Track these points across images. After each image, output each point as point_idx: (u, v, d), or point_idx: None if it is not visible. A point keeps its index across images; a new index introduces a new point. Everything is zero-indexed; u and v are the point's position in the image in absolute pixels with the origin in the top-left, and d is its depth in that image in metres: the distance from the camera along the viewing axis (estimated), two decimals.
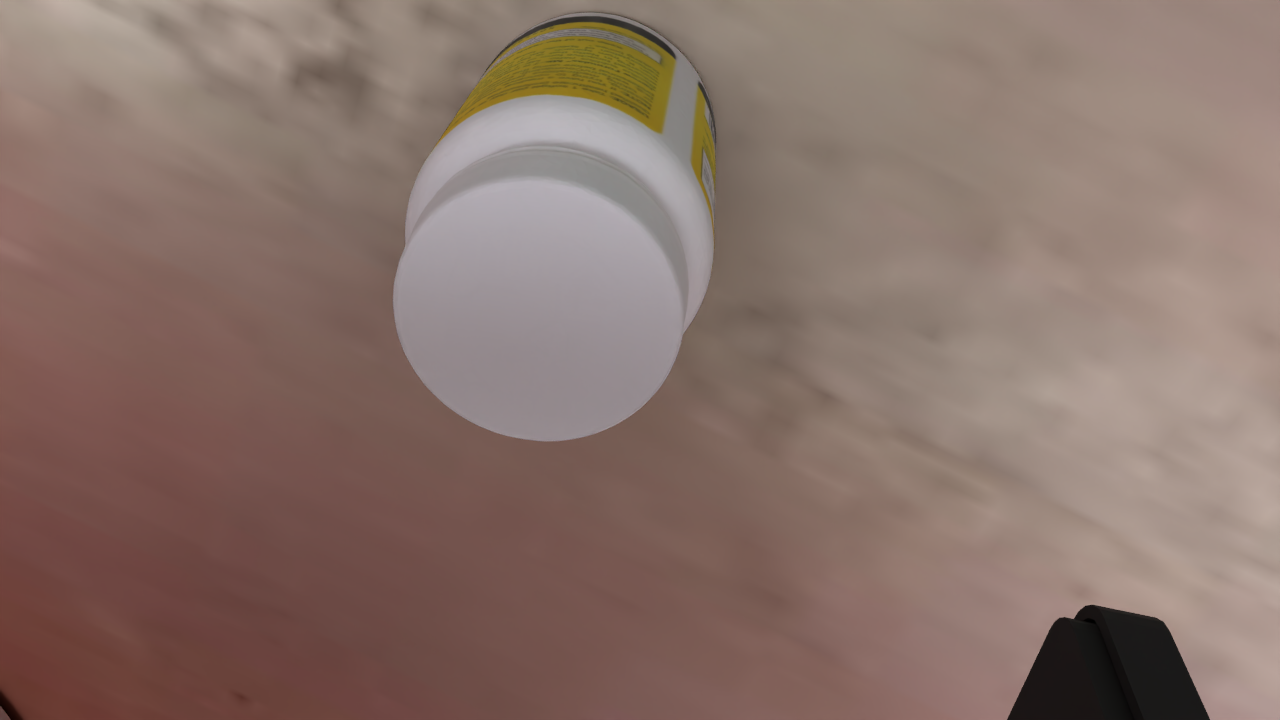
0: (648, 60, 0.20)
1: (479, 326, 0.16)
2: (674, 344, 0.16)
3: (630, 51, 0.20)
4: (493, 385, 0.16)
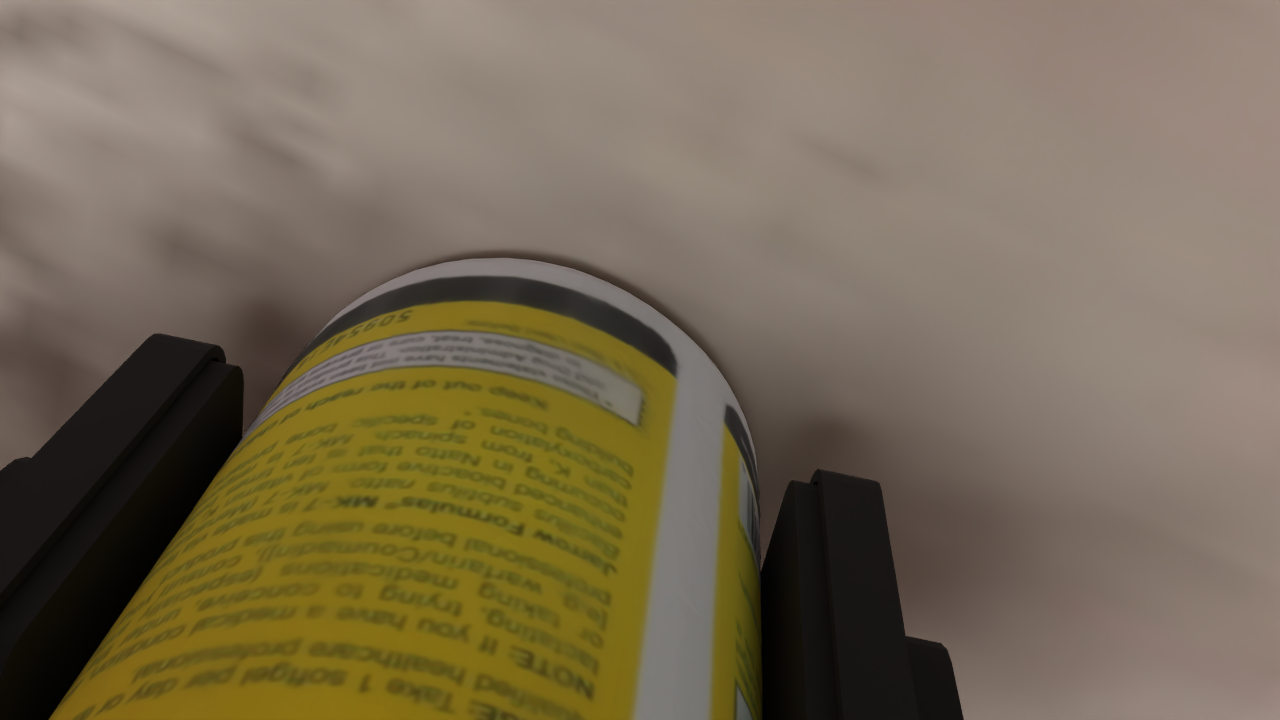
0: (609, 428, 0.09)
1: None
2: None
3: (566, 413, 0.09)
4: None
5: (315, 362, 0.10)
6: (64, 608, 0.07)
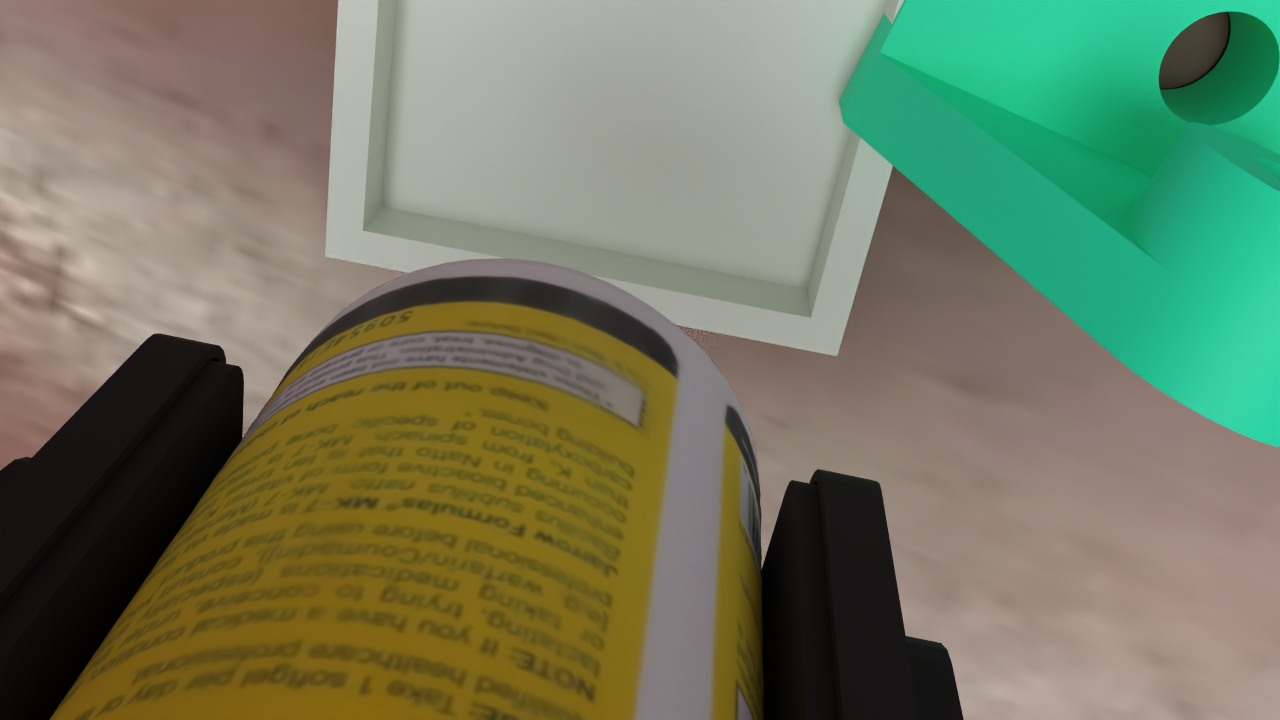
0: (611, 430, 0.09)
1: None
2: None
3: (567, 413, 0.08)
4: None
5: (315, 362, 0.10)
6: (66, 608, 0.07)
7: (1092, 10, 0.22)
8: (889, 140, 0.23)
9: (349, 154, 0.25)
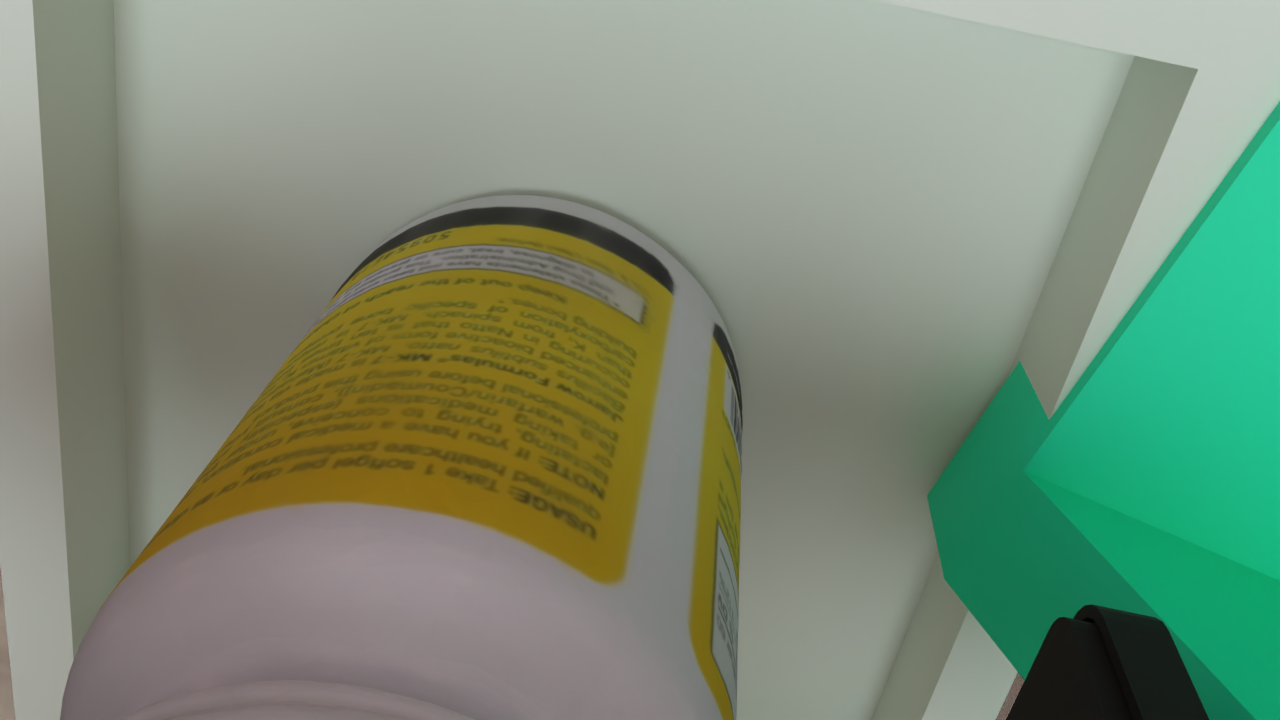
0: (617, 322, 0.10)
1: None
2: None
3: (582, 307, 0.10)
4: None
5: (368, 272, 0.11)
6: None
7: None
8: None
9: (35, 580, 0.14)
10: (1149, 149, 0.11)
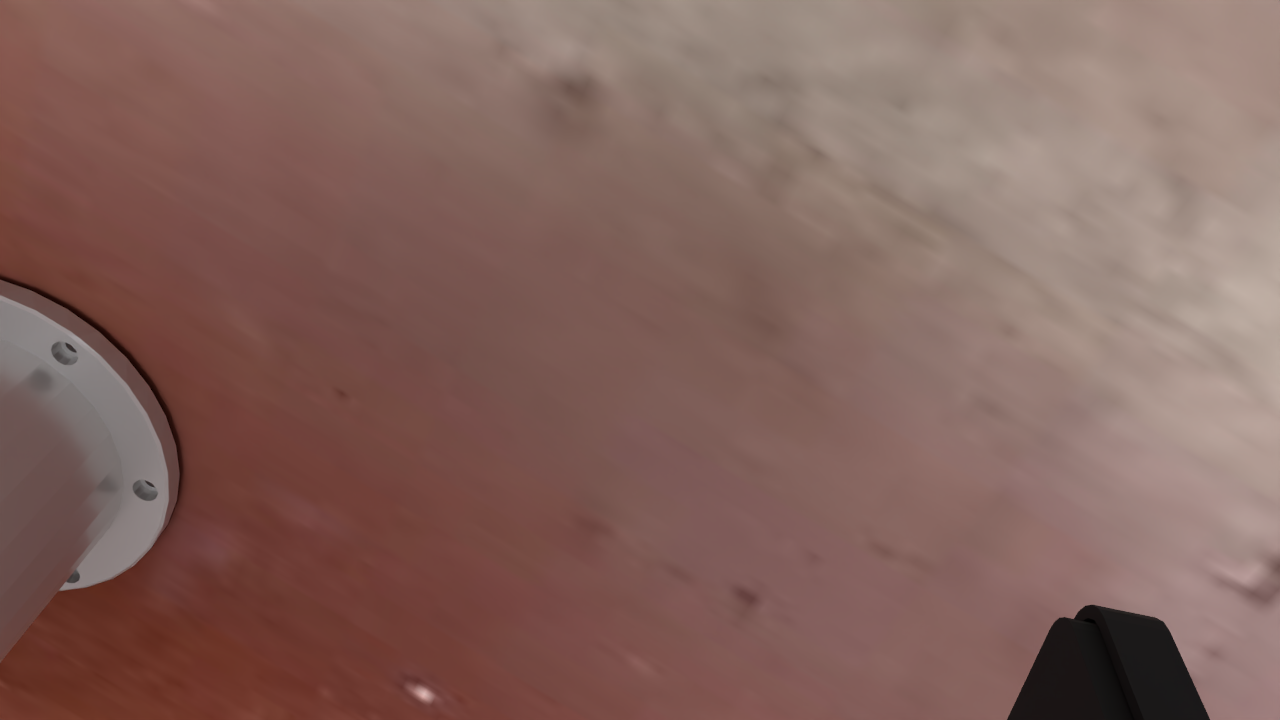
0: None
1: None
2: None
3: None
4: None
5: None
6: None
7: None
8: None
9: None
10: None
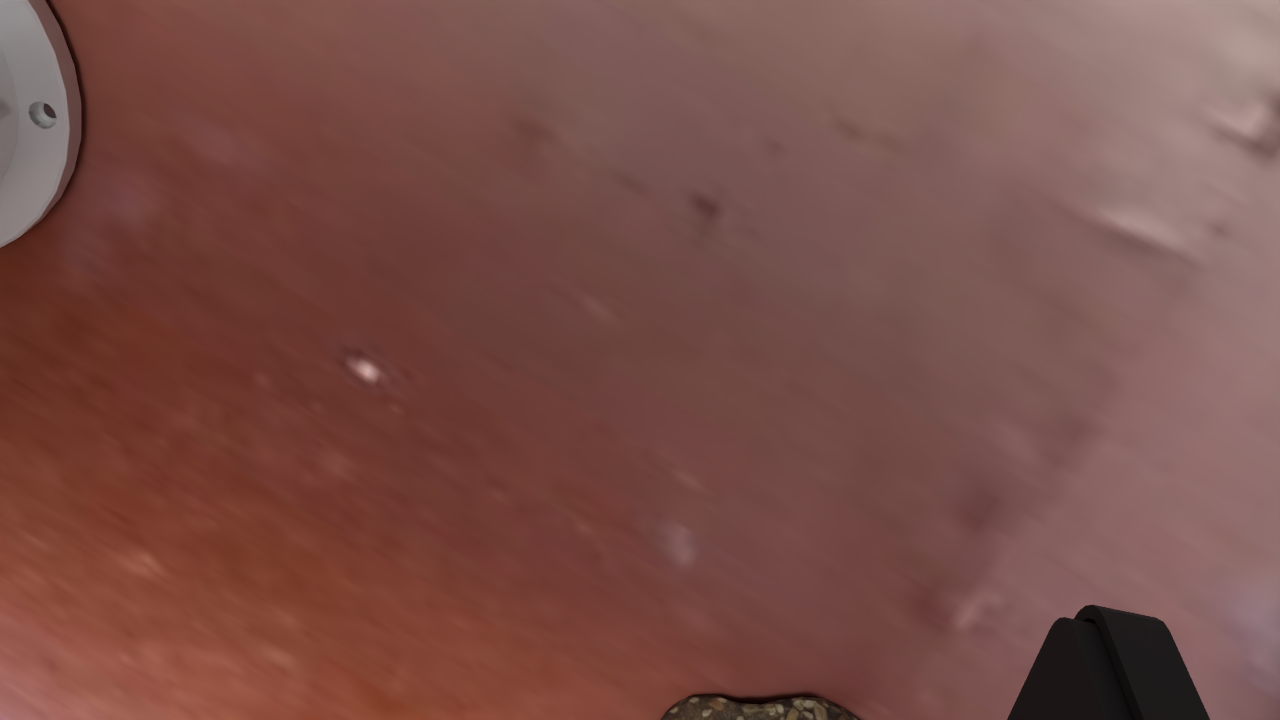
0: None
1: None
2: None
3: None
4: None
5: None
6: None
7: None
8: None
9: None
10: None
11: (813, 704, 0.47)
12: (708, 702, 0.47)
